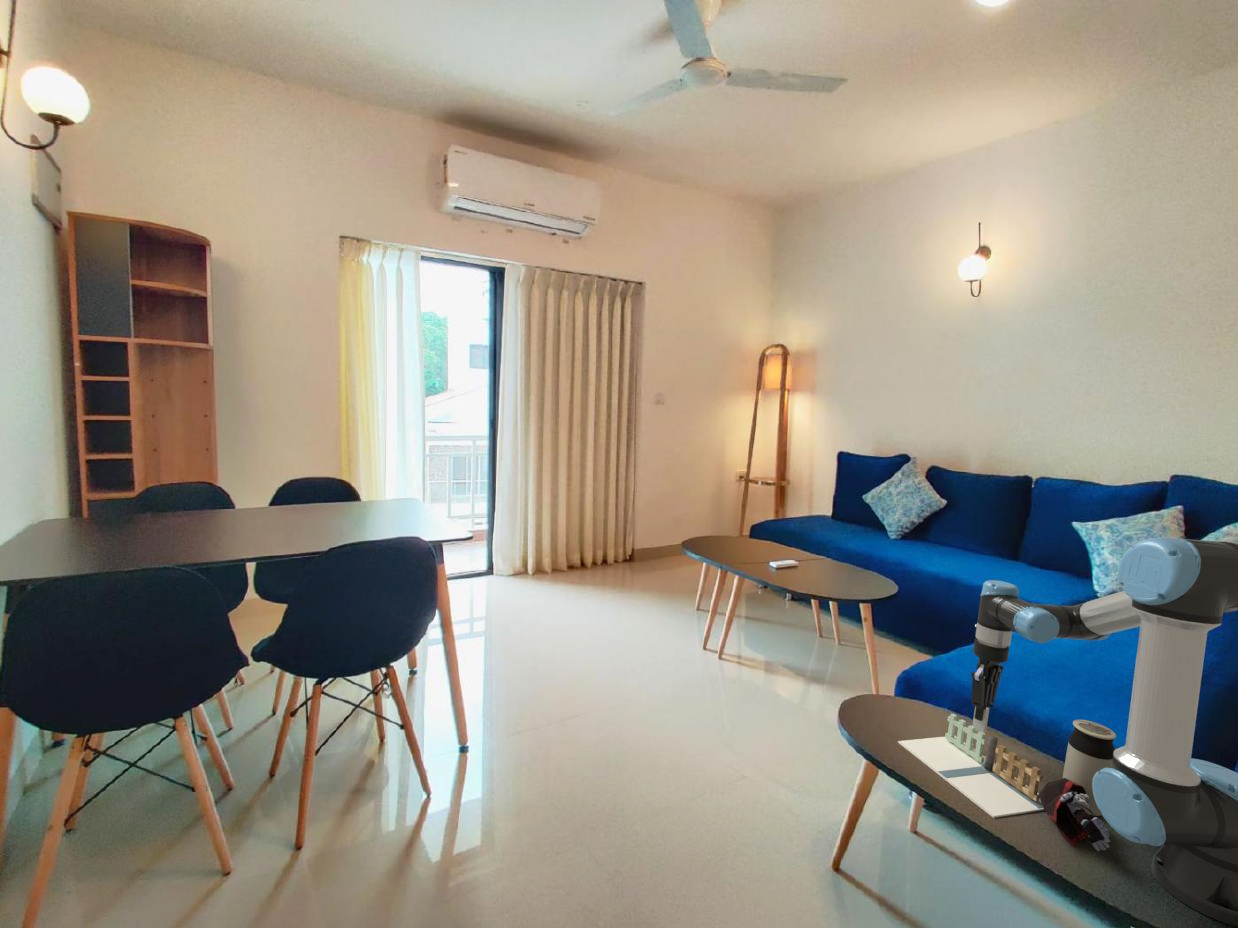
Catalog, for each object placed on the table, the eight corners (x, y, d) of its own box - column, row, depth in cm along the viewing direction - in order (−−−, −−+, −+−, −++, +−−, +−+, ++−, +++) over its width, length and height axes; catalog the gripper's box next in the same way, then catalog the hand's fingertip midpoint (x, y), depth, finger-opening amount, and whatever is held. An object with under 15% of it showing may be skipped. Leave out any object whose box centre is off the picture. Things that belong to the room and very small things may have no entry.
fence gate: (983, 762, 145) (988, 735, 144) (980, 763, 144) (984, 736, 144) (947, 737, 155) (951, 712, 154) (944, 737, 155) (948, 712, 154)
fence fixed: (1039, 804, 131) (1045, 768, 130) (1033, 805, 131) (1039, 769, 130) (987, 768, 144) (992, 734, 143) (982, 768, 143) (987, 735, 143)
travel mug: (1109, 821, 127) (1123, 742, 125) (1064, 808, 130) (1077, 731, 129) (1097, 800, 134) (1111, 725, 133) (1055, 788, 138) (1067, 714, 136)
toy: (1095, 793, 115) (1059, 756, 130) (1048, 814, 117) (1018, 776, 132) (1136, 850, 114) (1095, 806, 128) (1088, 871, 116) (1053, 825, 130)
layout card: (1057, 808, 130) (1058, 805, 130) (993, 817, 125) (993, 815, 125) (954, 736, 157) (954, 735, 157) (897, 742, 152) (898, 740, 152)
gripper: (987, 632, 157) (974, 717, 159) (964, 641, 149) (951, 729, 152) (1019, 643, 151) (1005, 731, 153) (997, 652, 143) (982, 744, 146)
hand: (978, 730), depth 153 cm, fingers closed
